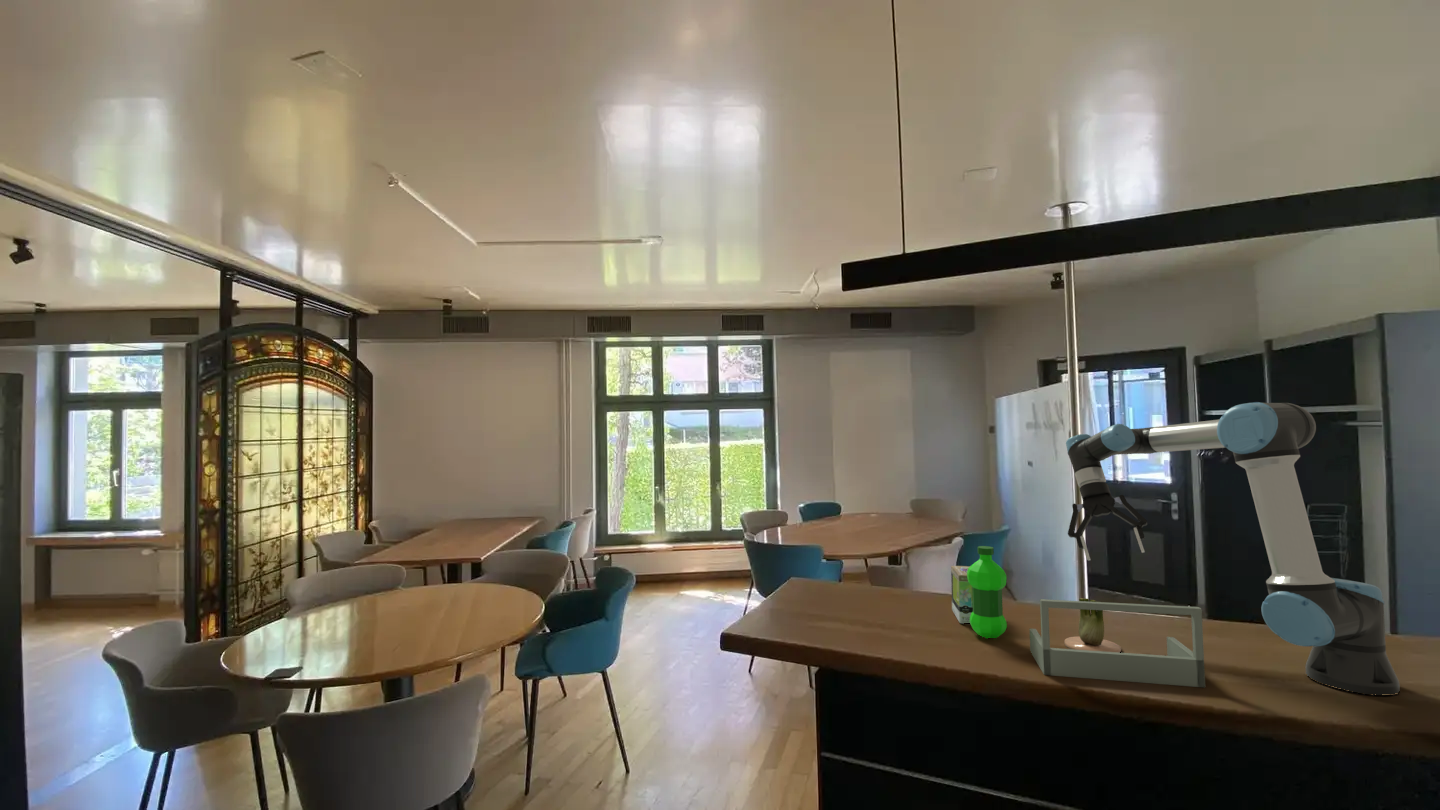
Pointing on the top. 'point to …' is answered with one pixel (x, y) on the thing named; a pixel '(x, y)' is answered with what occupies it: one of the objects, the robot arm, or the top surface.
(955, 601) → the tea box
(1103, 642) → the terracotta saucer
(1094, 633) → the fennel bulb
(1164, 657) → the frame
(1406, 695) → the top surface
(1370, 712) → the top surface
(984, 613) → the plastic bottle
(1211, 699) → the top surface
